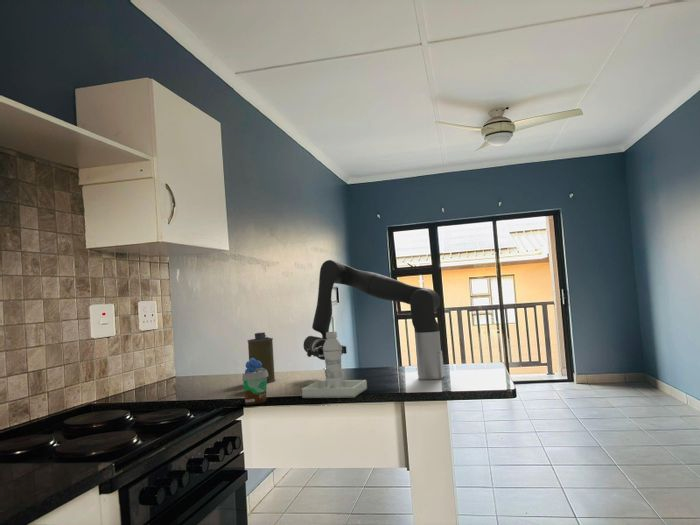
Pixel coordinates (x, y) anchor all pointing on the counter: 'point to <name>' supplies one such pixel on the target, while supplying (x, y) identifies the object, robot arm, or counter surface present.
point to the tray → (334, 390)
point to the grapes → (253, 366)
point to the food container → (255, 386)
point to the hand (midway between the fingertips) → (329, 352)
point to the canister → (263, 353)
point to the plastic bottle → (333, 361)
